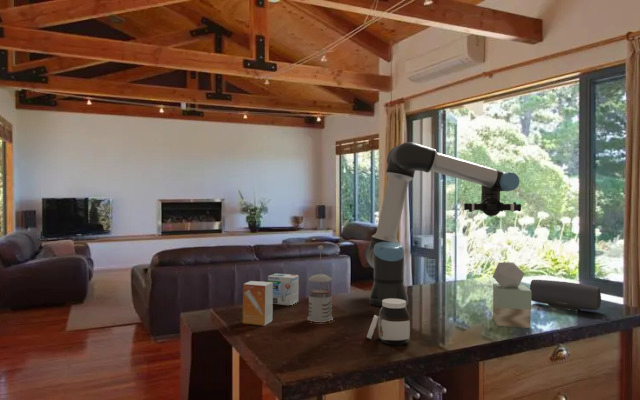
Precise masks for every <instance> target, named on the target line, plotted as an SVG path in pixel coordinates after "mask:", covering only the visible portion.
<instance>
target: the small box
mask: <svg viewBox="0 0 640 400" xmlns="http://www.w3.org/2000/svg"><path fill="white" fill-rule="evenodd" d="M273 305H274V304H273V282H268V281H256V280H249V281H247V282H245V283H243V284H242V324H247V325H255V326H256V325H257V326H264V327H265V326H266V325H269V324H270V323H271V322H273V312H274V311H273V309H274V308H273V307H274V306H273Z"/></svg>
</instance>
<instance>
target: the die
mask: <svg viewBox="0 0 640 400" xmlns="http://www.w3.org/2000/svg"><path fill="white" fill-rule="evenodd" d="M524 275H525V272H524V271H523V270H521V269H520V267H519V266H517V264H516V263H515V262H509V261H508V262H498V264H497V266H496V268H495V270H494V273H493V275H492V278H493V279H494V280H495V281H496V282H497V284H500V285H501V286H502V287H503V288H518V287H519V285H521V282H522V281H523V277H524Z"/></svg>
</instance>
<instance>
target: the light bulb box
mask: <svg viewBox="0 0 640 400" xmlns="http://www.w3.org/2000/svg"><path fill="white" fill-rule="evenodd" d="M299 280H300V279H299V275H298V274H287V273H273V274H270V275H268V276H267V282H273V305H274V304H275V305H282V306H289V305H292V306H294V305H296V304H297V302H298V303H299V287H300V286H299ZM295 303H296V304H295ZM293 304H294V305H293Z"/></svg>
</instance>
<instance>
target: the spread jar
mask: <svg viewBox="0 0 640 400" xmlns="http://www.w3.org/2000/svg"><path fill="white" fill-rule="evenodd" d="M382 306H383V307H381V308H380V309H379V312H378V315H375V314H374V315H373V317H372V321H371V322H370V326H369V329H368V331H367V334H366V338H367V339H370V340H372V337H373V336H374V332H375V329H376V327H377V323H378V334H379V339H380V341H381V342H382V343H384V344H386V345H391V346H400V345H405V344H406V343H407V342H409V340H410V336H411V334H410V333H411V321H410V320H411V319H410V313H409V311H408V310H407V306H406V301H405V300H402V299H393V298H390V299H384V300H382Z"/></svg>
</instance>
